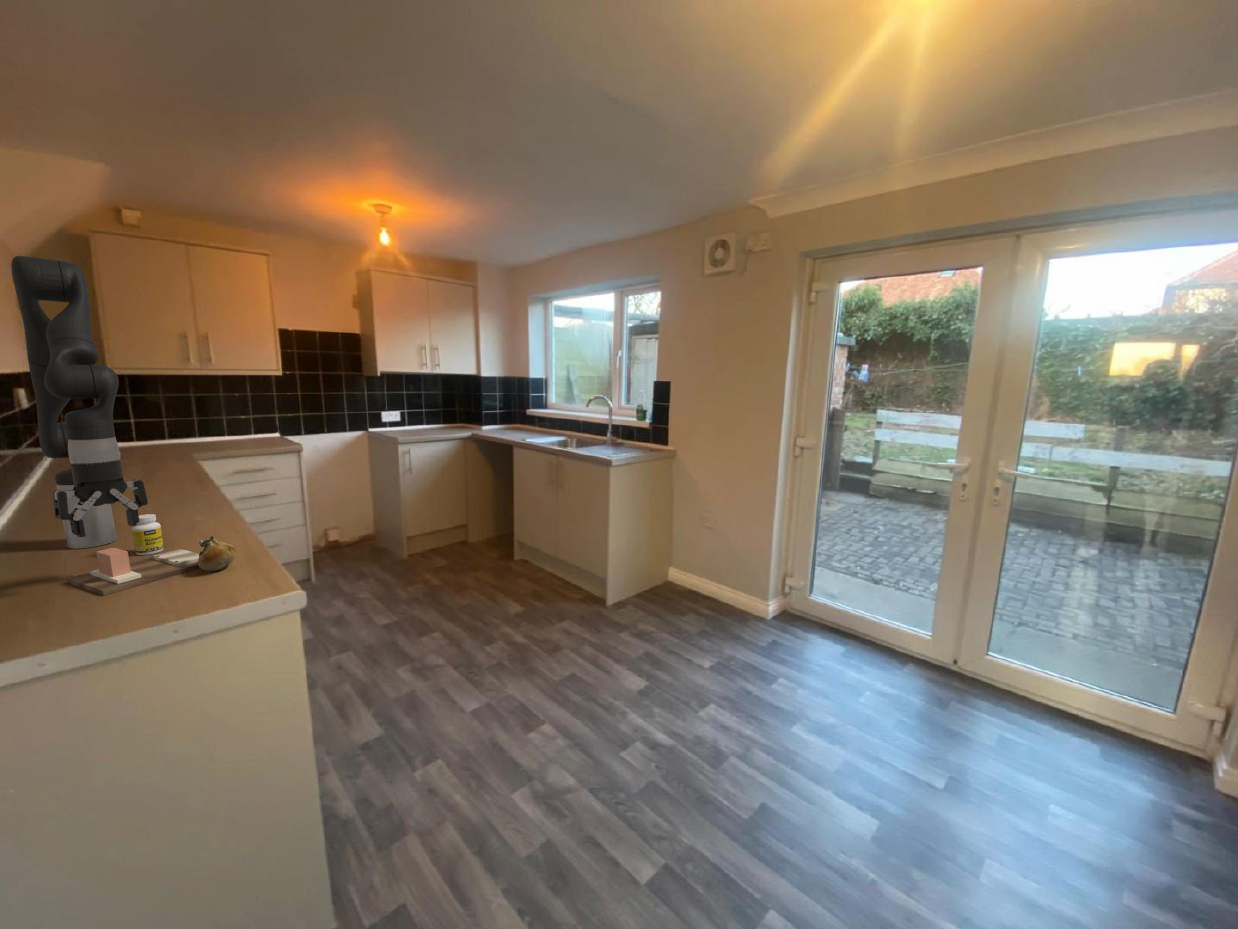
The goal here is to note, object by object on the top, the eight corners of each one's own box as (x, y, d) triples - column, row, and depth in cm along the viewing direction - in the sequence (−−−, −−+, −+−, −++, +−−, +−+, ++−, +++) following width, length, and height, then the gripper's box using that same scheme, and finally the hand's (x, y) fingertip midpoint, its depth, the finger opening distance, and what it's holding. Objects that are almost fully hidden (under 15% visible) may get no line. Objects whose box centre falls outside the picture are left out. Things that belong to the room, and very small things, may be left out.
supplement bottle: (146, 556, 126) (141, 519, 124) (130, 554, 127) (124, 518, 125) (169, 549, 131) (164, 514, 129) (153, 548, 132) (148, 512, 130)
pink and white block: (90, 574, 111) (86, 550, 110) (113, 568, 115) (110, 545, 114) (117, 583, 107) (113, 558, 106) (141, 577, 110) (137, 552, 109)
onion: (192, 578, 113) (187, 544, 112) (203, 566, 120) (199, 534, 119) (233, 573, 116) (228, 540, 115) (241, 561, 123) (238, 531, 122)
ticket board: (67, 582, 109) (66, 574, 109) (176, 554, 128) (175, 547, 127) (104, 595, 103) (102, 587, 103) (213, 564, 121) (212, 556, 121)
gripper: (129, 452, 114) (139, 520, 117) (39, 462, 101) (53, 537, 104) (146, 455, 111) (157, 524, 114) (56, 465, 98) (70, 543, 101)
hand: (107, 530), depth 109 cm, fingers open, 8 cm apart
